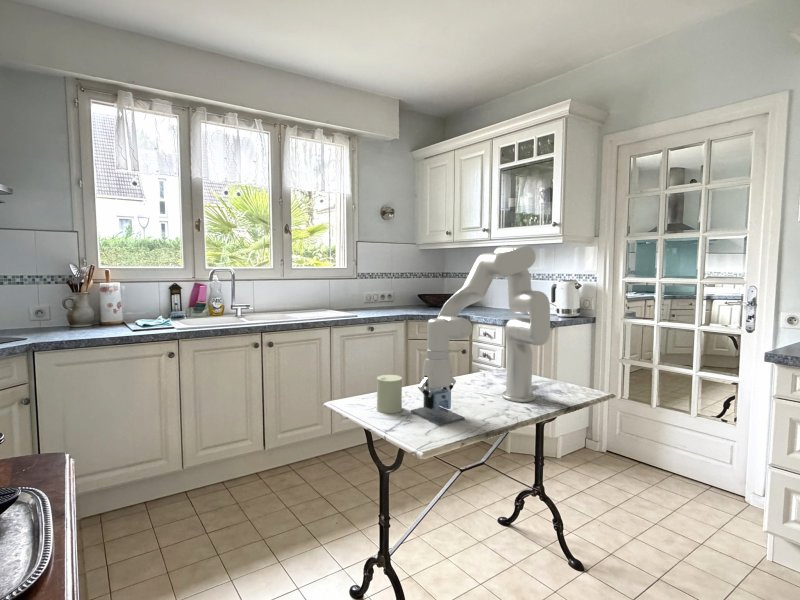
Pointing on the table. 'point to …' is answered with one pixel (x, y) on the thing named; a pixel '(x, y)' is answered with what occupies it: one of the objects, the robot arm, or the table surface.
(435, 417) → the rail
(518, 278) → the robot arm
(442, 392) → the blue-grey slotted block
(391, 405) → the can
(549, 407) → the table surface
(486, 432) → the table surface
